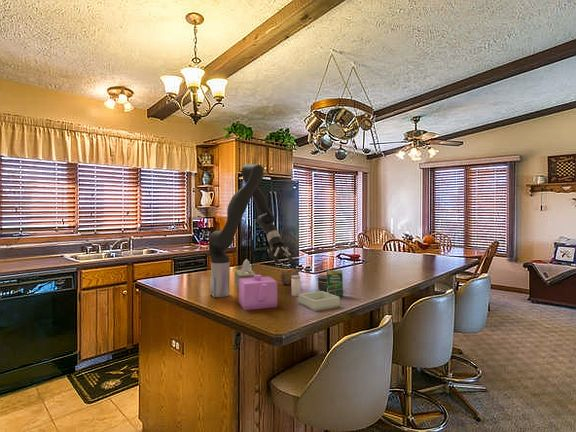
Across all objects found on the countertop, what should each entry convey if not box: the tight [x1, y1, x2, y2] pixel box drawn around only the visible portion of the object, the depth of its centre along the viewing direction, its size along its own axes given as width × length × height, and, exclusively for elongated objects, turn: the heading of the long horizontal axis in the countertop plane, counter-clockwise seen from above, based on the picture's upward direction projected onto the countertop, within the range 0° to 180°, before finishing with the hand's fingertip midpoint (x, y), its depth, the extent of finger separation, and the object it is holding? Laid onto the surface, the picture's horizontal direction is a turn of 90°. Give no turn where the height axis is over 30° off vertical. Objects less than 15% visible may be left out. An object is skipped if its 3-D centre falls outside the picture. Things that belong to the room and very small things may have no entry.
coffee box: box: [326, 269, 344, 298], centre depth 177 cm, size 8×3×13 cm, turn 90°
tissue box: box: [234, 258, 257, 289], centre depth 202 cm, size 19×10×16 cm, turn 17°
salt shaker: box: [290, 274, 301, 297], centre depth 179 cm, size 4×4×10 cm
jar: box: [317, 274, 327, 293], centre depth 189 cm, size 10×10×8 cm
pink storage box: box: [238, 274, 278, 311], centre depth 160 cm, size 15×25×14 cm, turn 19°
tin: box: [280, 268, 299, 285], centre depth 209 cm, size 15×3×8 cm, turn 143°
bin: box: [297, 290, 341, 312], centre depth 160 cm, size 14×14×4 cm
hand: (284, 262), depth 189 cm, fingers open, 8 cm apart
